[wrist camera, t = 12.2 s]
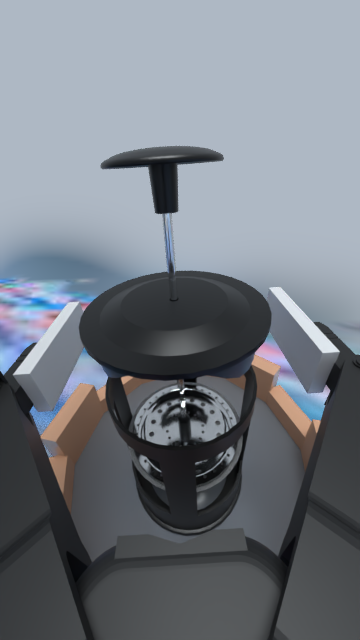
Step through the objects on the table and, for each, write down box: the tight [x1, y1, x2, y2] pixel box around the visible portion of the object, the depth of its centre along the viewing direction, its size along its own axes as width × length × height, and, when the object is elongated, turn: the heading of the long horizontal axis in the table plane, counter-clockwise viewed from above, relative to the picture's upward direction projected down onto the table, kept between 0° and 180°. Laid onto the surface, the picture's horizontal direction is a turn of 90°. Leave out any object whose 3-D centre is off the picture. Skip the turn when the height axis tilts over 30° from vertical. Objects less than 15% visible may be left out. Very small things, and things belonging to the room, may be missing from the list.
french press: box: [79, 146, 272, 536], centre depth 14 cm, size 12×9×23 cm
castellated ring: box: [40, 354, 321, 562], centre depth 20 cm, size 24×24×6 cm
